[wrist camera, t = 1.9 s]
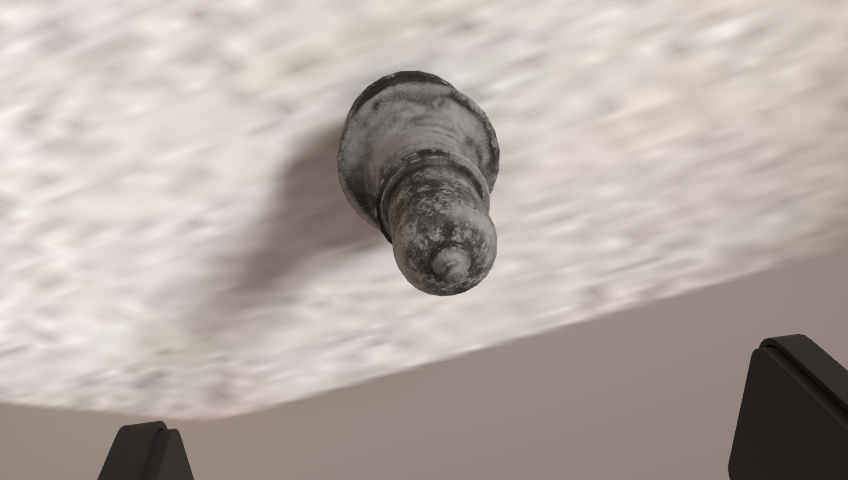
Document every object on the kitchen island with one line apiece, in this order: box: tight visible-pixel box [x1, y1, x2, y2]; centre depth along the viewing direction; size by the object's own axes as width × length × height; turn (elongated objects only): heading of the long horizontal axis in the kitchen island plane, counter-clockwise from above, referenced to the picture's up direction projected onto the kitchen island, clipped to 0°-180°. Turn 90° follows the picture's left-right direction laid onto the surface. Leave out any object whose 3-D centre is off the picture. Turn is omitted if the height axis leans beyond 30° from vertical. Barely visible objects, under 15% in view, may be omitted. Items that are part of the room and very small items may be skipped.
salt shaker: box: [337, 71, 500, 296], centre depth 20 cm, size 6×6×12 cm
